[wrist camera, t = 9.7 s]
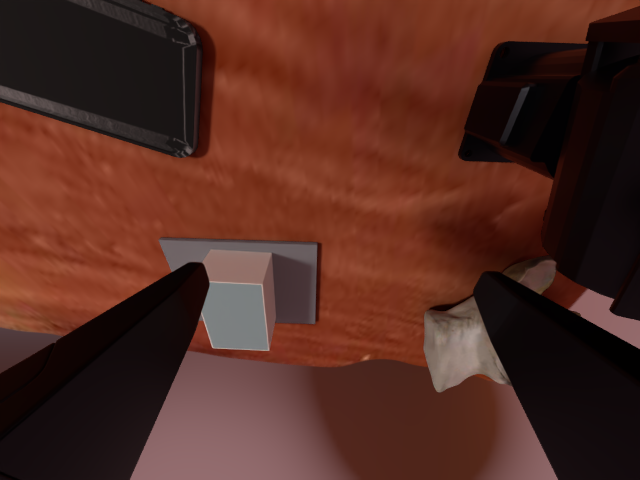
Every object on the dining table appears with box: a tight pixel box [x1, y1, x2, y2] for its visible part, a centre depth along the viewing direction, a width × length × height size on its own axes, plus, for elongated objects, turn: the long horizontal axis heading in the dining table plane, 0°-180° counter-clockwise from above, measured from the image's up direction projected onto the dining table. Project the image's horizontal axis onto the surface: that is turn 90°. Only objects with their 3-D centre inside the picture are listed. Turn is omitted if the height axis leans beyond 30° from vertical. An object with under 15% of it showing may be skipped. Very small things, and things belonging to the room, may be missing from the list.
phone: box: [0, 0, 203, 158], centre depth 14 cm, size 8×1×15 cm
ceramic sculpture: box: [424, 255, 581, 392], centre depth 22 cm, size 11×9×15 cm
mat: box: [159, 238, 317, 324], centre depth 25 cm, size 14×11×1 cm
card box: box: [201, 249, 276, 351], centre depth 23 cm, size 9×6×4 cm, turn 177°
